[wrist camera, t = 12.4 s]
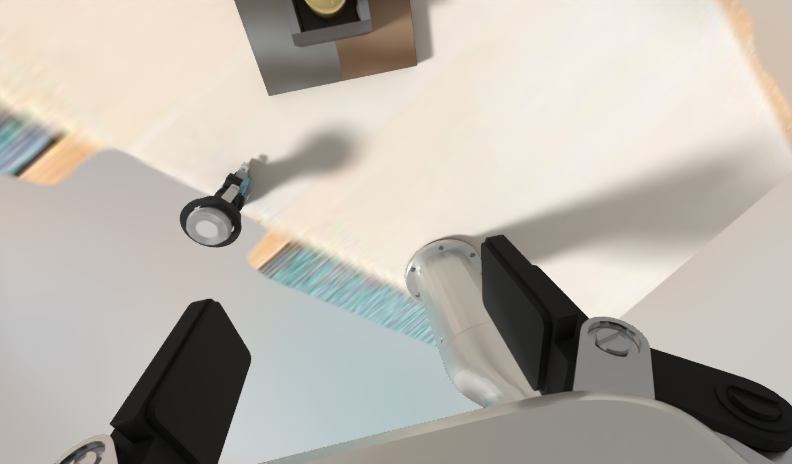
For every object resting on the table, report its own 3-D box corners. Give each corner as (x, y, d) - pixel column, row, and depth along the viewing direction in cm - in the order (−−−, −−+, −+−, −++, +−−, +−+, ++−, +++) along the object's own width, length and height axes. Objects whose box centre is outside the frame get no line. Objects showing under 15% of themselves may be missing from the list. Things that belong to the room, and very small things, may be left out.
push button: (225, 151, 35) (188, 181, 26) (271, 173, 37) (250, 208, 28) (207, 197, 37) (168, 239, 28) (251, 216, 39) (227, 260, 30)
